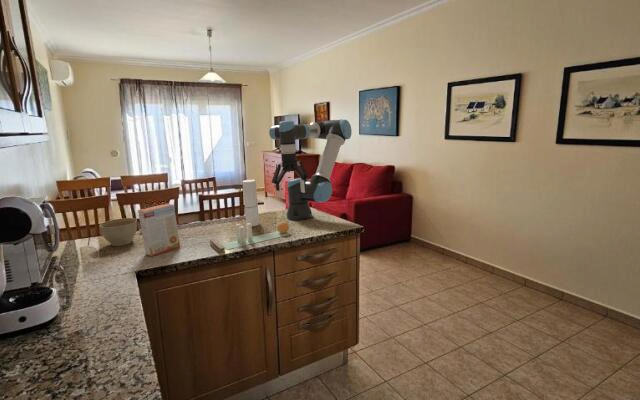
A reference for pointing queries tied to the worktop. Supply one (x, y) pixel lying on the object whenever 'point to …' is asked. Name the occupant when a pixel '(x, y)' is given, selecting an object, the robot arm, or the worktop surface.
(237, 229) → the pin back right
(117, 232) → the planter bowl
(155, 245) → the cracker box
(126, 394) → the worktop surface
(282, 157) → the robot arm
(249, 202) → the cylindrical container
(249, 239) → the pin front
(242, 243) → the pin back left
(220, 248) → the backstop
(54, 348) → the worktop surface
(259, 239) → the lane
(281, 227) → the ball
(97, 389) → the worktop surface
